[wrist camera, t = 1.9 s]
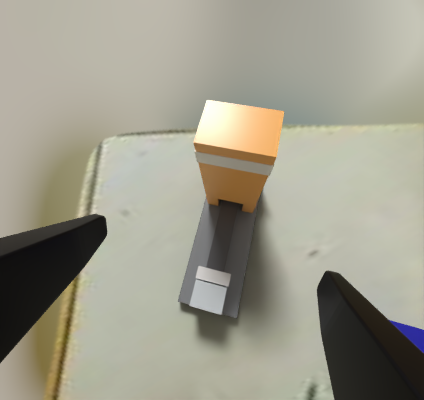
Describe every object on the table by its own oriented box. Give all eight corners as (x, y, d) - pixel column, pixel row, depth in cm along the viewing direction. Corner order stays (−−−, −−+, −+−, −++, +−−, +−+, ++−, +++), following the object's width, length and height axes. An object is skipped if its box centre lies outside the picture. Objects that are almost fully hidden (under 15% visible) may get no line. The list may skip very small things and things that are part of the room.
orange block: (252, 213, 21) (277, 157, 11) (207, 204, 22) (192, 142, 12) (257, 185, 22) (285, 110, 12) (214, 177, 23) (206, 99, 13)
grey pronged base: (236, 316, 19) (239, 326, 15) (179, 300, 20) (168, 306, 16) (261, 181, 24) (268, 163, 20) (214, 172, 24) (212, 152, 20)
